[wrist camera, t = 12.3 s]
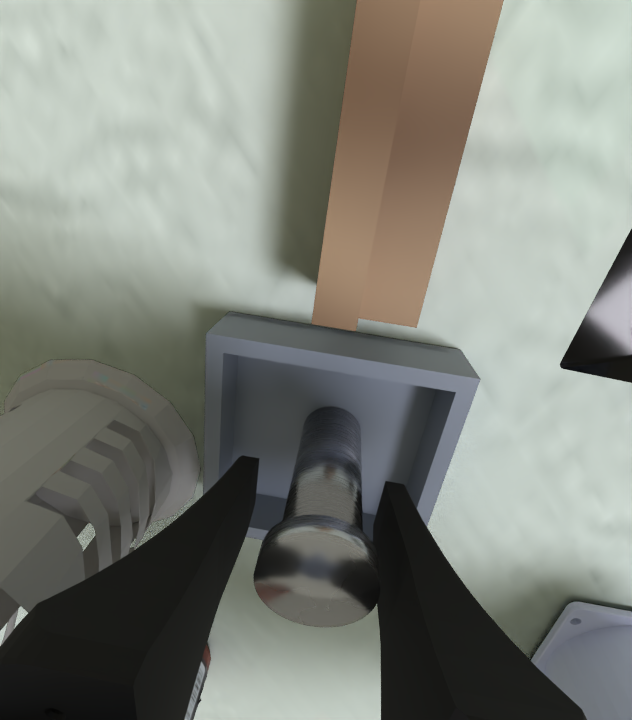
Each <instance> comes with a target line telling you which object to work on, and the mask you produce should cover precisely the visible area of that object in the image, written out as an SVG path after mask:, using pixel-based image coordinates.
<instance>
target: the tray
mask: <svg viewBox="0 0 632 720" xmlns="http://www.w3.org/2000/svg"><path fill="white" fill-rule="evenodd" d="M479 382H480V378H479V376H478V375H477V373H476V372H475V370H474V369H473V367H472V366H471V364H470V363H469V361H468V360H467V358H466V357H465V355H464V354H463V352H462V351H461V350H460V349H454V348H448V347H442V346H436V345H430V344H423V343H417V342H411V341H405V340H399V339H393V338H387V337H381V336H375V335H369V334H363V333H357V332H351V331H345V330H339V329H333V328H327V327H321V326H315V325H309V324H303V323H296V322H290V321H284V320H278V319H272V318H266V317H260V316H254V315H248V314H242V313H236V312H230V311H229V312H228V313H227V314H226V315H225V316H224V317H223V318H222V319H221V320H220V321H219V322H218V323H216V324H215V325H214V326H213V327H212V328H211V329H210V330H209V331H208V332H207V333H206V360H205V421H204V481H203V495H204V494H205V493H206V492H207V491H208V490H209V489H210V488H211V487H212V486H213V485H214V484H215V483H216V482H217V481H218V480H219V479H220V478H221V477H222V476H223V475H224V474H225V473H226V472H227V470H228V469H229V468H230V467H231V466H232V465H233V464H234V462H235V461H236V460H237V459H238V457H240V456H242V455H244V456H249V457H255V458H260V459H259V469H258V480H257V490H256V501H255V506H254V510H253V513H252V517H251V521H250V524H249V528H248V531H247V534H246V537H250V538H255V539H261V540H263V539H264V537H265V536H266V534H267V533H268V532H269V530H270V529H271V528H273V527H274V526H275V525H276V524H278V523H280V522H282V519H283V515H284V510H285V506H286V501H287V497H288V493H289V488H290V484H291V479H292V475H293V471H294V466H295V462H296V457H297V453H298V449H299V444H300V440H301V435H302V431H303V426H304V423H305V420H306V419H307V417H308V416H309V415H310V414H311V413H312V412H313V411H315V410H317V409H319V408H322V407H328V406H333V407H339V408H342V409H345V410H347V411H349V412H350V413H351V414H353V415H354V416H355V418H356V419H357V420H358V422H359V424H360V428H361V466H362V518H363V532H364V533H365V534H366V535H367V536H368V537H369V539H370V540H371V541H372V543H373V524H374V520H375V517H376V513H377V509H378V506H379V502H380V499H381V495H382V492H383V488H384V484H385V481H389V482H395V483H400V484H404V485H405V487H406V489H407V491H408V493H409V495H410V497H411V499H412V501H413V502H414V504H415V506H416V508H417V510H418V512H419V514H420V516H421V518H422V519H423V521H424V523H425V525H426V527H427V525H428V522H429V519H430V516H431V514H432V511H433V508H434V505H435V503H436V500H437V497H438V494H439V492H440V489H441V486H442V483H443V481H444V478H445V475H446V472H447V470H448V467H449V464H450V461H451V459H452V456H453V453H454V450H455V448H456V445H457V442H458V439H459V437H460V434H461V431H462V428H463V426H464V423H465V420H466V417H467V415H468V412H469V409H470V406H471V404H472V401H473V398H474V395H475V393H476V390H477V387H478V384H479Z"/></svg>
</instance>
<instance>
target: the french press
mask: <svg viewBox="0 0 632 720" xmlns="http://www.w3.org/2000/svg"><path fill="white" fill-rule="evenodd" d="M4 411H5V414H3V415H0V630H1V629H2V628H3V627H4V626H5V624H6V623H7V622H8V623H7V627H6V631H5V635H4V638H3V641H2V644H3V643H4V641H5V640H6V639H7V637H8V636H9V635H10V634H11V632H12V631H13V630H14V626H15V622H16V617H17V613H18V608H19V607H20V606H22V607H23V608H24V609H25V610H26V611H27V612H28V613H29V612H30V611H31V610H32V609H33V608H34V607H35V606H36V604H37V603H39V602H41V601H44V600H46V599H48V598H50V597H52V596H54V595H56V594H58V593H60V592H62V591H64V590H66V589H68V588H70V587H72V586H74V585H76V584H78V583H80V582H82V581H84V580H85V579H87V578H89V577H91V576H93V575H94V574H96V573H98V572H99V571H101V570H103V569H104V568H106V567H108V566H110V565H111V564H113V563H115V562H116V561H118V560H120V559H121V558H123V557H125V556H126V555H128V554H129V553H131V552H132V551H134V549H135V548H136V546H137V545H138V543H139V542H140V540H141V539H142V537H143V535H144V533H145V532H146V530H147V529H148V527H149V526H150V525H151V523H152V522H155V521H158V520H161V519H165V518H168V517H171V516H173V515H174V514H175V513H176V512H177V511H178V510H180V509H181V508H182V507H183V506H184V505H185V504H186V503H187V502H188V501H189V500H190V499H191V498H192V497H193V495H194V491H195V488H196V484H197V481H198V477H199V474H200V470H201V468H200V463H199V459H198V454H197V449H196V445H195V440H194V436H193V434H192V433H191V431H190V430H189V429H188V427H187V426H186V424H185V423H184V421H183V420H182V418H181V417H180V415H179V414H178V413H177V411H176V410H175V408H174V407H173V405H172V404H171V402H169V401H168V400H167V399H165V398H164V397H163V396H162V395H160V394H159V393H158V392H156V391H155V390H154V389H152V388H151V387H150V386H148V385H147V384H146V383H144V382H143V381H142V380H140V379H139V378H138V377H136V376H135V375H133V374H130V373H128V372H125V371H122V370H119V369H116V368H114V367H111V366H108V365H105V364H102V363H100V362H97V361H94V360H49V361H47V362H45V363H43V364H41V365H39V366H37V367H35V368H33V369H31V370H29V371H27V372H25V373H23V374H21V375H20V376H19V377H18V379H17V381H16V383H15V384H14V386H13V388H12V389H11V391H10V393H9V394H8V396H7V398H6V399H5V401H4ZM88 523H91V524H92V526H93V527H94V529H95V533H96V536H95V537H94V538H93V539H92V541H91V542H90V543H89V545H88V546H87V547H86V549H85V550H84V551H83V548H82V546H81V544H80V543H79V541H78V539H77V538H76V537H77V536H78V535H79V534H80V533H81V531H82V530H83V529H84V528H85V526H86V525H87V524H88ZM135 538H136V543H135V547H133V548H130V545H131V543H132V542H133V540H134V539H135ZM2 644H1V645H2Z"/></svg>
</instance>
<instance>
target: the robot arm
mask: <svg viewBox="0 0 632 720" xmlns="http://www.w3.org/2000/svg"><path fill="white" fill-rule="evenodd" d="M259 459H260V458H255V457H249V456H244V455H242V456H240V457H238V459H237V460H236V461H235V462H234V464H233V465H232V466H231V467H230V468H229V469H228V470H227V472H226V473H225V474H224V475H223V476H222V477H221V478H220V479H219V480H218V481H217V482H216V483H215V484H214V485H213V486H212V487H211V488H210V489H209V490H208V491H207V492H206V493H205V494H204V495H203V496H202V497H201V498H200V499H199V500H198V501H197V502H196V503H194V504H193V505H192V506H191V507H190V508H189V509H188V510H187V511H185V512H184V513H183V514H182V515H181V516H180V517H178V518H177V519H176V520H175V521H174V522H172V523H171V524H170V525H169V526H167V527H166V528H165V529H163V530H162V531H161V532H159V533H158V534H157V535H155V536H154V537H153V538H151V539H150V540H148V541H147V542H145V543H144V544H143V545H141V546H140V547H138V548H137V549H135V550H134V551H132V552H131V553H129V554H128V555H126V556H125V557H123V558H121V559H120V560H118V561H116V562H115V563H113V564H111V565H110V566H108V567H106V568H104V569H103V570H101V571H99V572H98V573H96V574H94V575H93V576H91V577H89V578H87V579H85V580H84V581H82V582H80V583H78V584H76V585H74V586H72V587H70V588H68V589H66V590H64V591H62V592H60V593H58V594H56V595H54V596H52V597H50V598H48V599H46V600H44V601H41V602H39V603H37V604H36V606H35V607H34V608H33V609H32V610H31V611H30V612H29V613H28V614H27V615H26V616H25V617H24V618H23V619H22V621H21V622H20V623H19V624H18V625H17V626H16V628H15V629H14V630H13V631H12V632H11V634H10V635H9V636H8V637H7V639H6V640H5V641H4V643H3V644H2V645H1V646H0V720H185V716H186V712H187V709H188V705H189V702H190V698H191V695H192V691H193V688H194V684H195V681H196V678H197V674H198V671H199V667H200V664H201V661H202V657H203V654H204V650H205V647H206V644H207V640H208V637H209V634H210V630H211V627H212V624H213V621H214V617H215V614H216V611H217V608H218V605H219V603H220V600H221V597H222V594H223V592H224V589H225V587H226V584H227V582H228V579H229V577H230V574H231V572H232V569H233V567H234V564H235V562H236V559H237V557H238V554H239V552H240V549H241V547H242V544H243V542H244V539H245V537H246V534H247V531H248V528H249V524H250V521H251V517H252V513H253V510H254V506H255V501H256V490H257V480H258V469H259ZM373 544H374V546H375V548H376V551H377V554H378V560H379V576H380V596H379V600H378V602H377V606H378V616H379V626H380V641H381V720H632V611H626V610H621V609H616V608H610V607H605V606H600V605H594V604H589V603H583V602H571V603H569V604H568V605H567V606H566V608H565V609H564V611H563V612H562V614H561V615H560V617H559V618H558V620H557V621H556V623H555V624H554V626H553V627H552V629H551V630H550V632H549V633H548V635H547V636H546V638H545V639H544V641H543V642H542V644H541V645H540V647H539V648H538V650H537V651H536V653H535V654H534V656H533V657H532V659H531V660H529V659H528V657H527V656H526V655H525V654H524V653H523V652H522V651H521V650H520V649H519V648H518V647H517V646H516V645H515V644H514V643H513V642H512V641H511V640H510V639H509V638H508V637H507V635H506V634H505V633H504V632H503V631H502V630H501V629H500V627H499V626H498V625H497V624H496V623H495V622H494V621H493V620H492V618H491V617H490V616H489V615H488V614H487V613H486V612H485V610H484V609H483V608H482V607H481V606H480V604H479V603H478V602H477V601H476V599H475V598H474V597H473V596H472V594H471V593H470V592H469V590H468V589H467V588H466V586H465V585H464V584H463V582H462V581H461V579H460V578H459V577H458V575H457V574H456V572H455V571H454V570H453V568H452V567H451V565H450V564H449V562H448V561H447V559H446V558H445V556H444V555H443V553H442V551H441V550H440V548H439V547H438V545H437V543H436V542H435V540H434V538H433V537H432V535H431V533H430V532H429V530H428V528H427V527H426V525H425V523H424V521H423V519H422V518H421V516H420V514H419V512H418V510H417V508H416V506H415V504H414V502H413V501H412V499H411V497H410V495H409V493H408V491H407V489H406V487H405V485H404V484H400V483H395V482H389V481H385V484H384V488H383V492H382V495H381V499H380V502H379V506H378V509H377V513H376V517H375V520H374V524H373Z"/></svg>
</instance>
